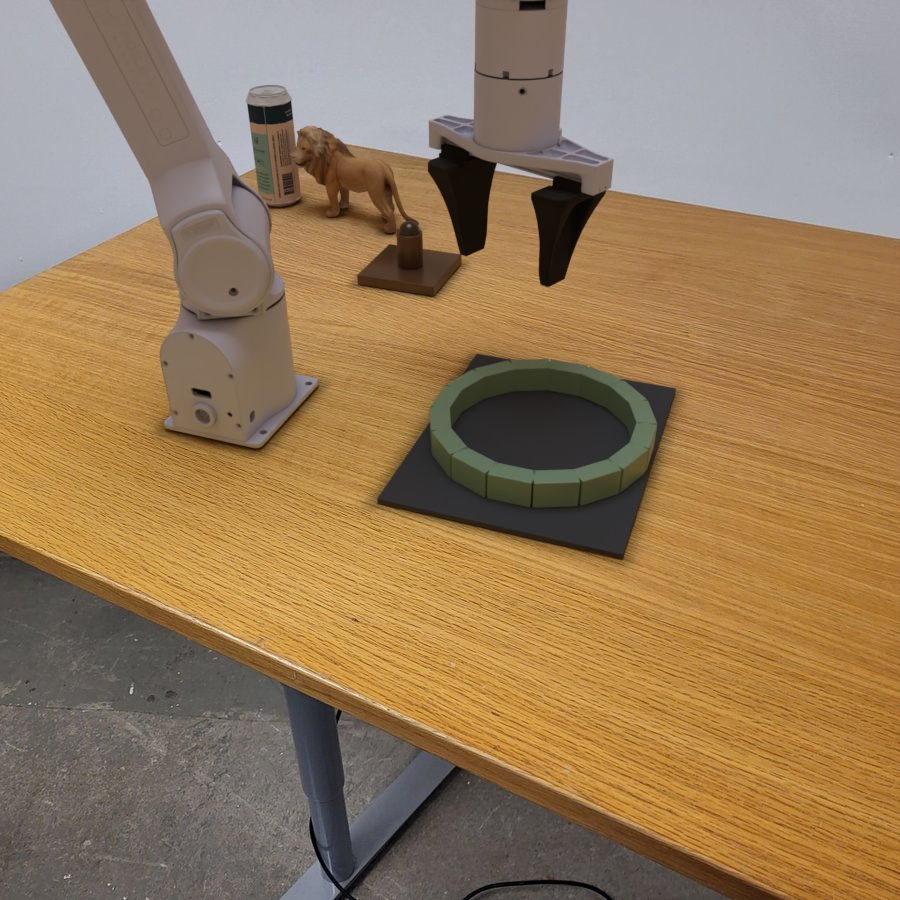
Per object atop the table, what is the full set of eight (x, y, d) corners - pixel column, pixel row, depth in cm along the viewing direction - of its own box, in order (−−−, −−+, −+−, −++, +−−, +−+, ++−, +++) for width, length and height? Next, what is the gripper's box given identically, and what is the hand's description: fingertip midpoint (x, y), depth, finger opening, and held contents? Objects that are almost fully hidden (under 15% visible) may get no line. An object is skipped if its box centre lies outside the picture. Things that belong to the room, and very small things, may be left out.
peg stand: (433, 296, 85) (432, 242, 82) (357, 284, 87) (353, 231, 84) (461, 263, 90) (461, 212, 87) (389, 253, 93) (387, 202, 90)
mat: (622, 559, 56) (623, 554, 56) (377, 503, 60) (376, 498, 60) (675, 392, 71) (676, 388, 71) (476, 357, 76) (476, 353, 75)
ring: (627, 529, 57) (631, 504, 56) (396, 479, 62) (395, 454, 61) (668, 402, 69) (672, 379, 68) (472, 367, 73) (472, 345, 72)
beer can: (306, 193, 106) (295, 84, 99) (296, 209, 102) (284, 96, 95) (265, 192, 107) (251, 83, 100) (253, 208, 103) (238, 95, 96)
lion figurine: (289, 214, 101) (279, 130, 96) (317, 199, 105) (309, 117, 100) (407, 238, 95) (403, 150, 90) (431, 221, 99) (430, 135, 94)
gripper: (649, 76, 58) (626, 277, 66) (476, 41, 66) (473, 224, 74) (581, 99, 54) (565, 311, 62) (405, 59, 62) (410, 250, 70)
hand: (511, 266), depth 68 cm, fingers open, 7 cm apart
